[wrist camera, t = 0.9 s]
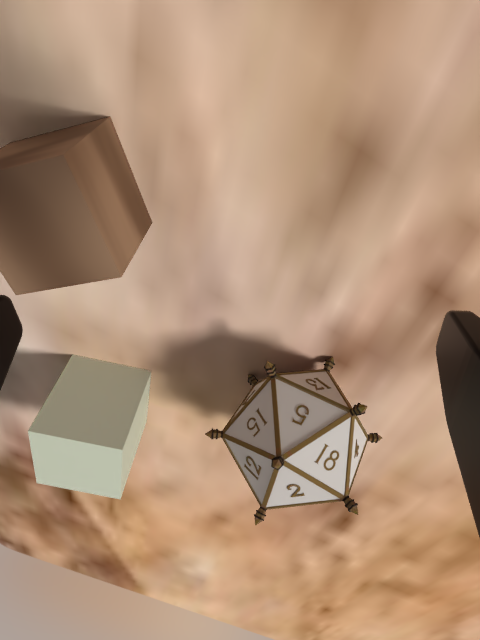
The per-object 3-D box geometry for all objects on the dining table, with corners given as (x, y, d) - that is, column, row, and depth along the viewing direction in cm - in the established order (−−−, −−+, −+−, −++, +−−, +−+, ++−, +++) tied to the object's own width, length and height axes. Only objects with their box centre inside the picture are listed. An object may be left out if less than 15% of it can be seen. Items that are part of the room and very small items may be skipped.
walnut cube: (110, 116, 19) (63, 154, 16) (152, 221, 22) (121, 277, 18) (11, 142, 21) (-57, 184, 17) (63, 239, 23) (16, 295, 20)
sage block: (151, 370, 29) (122, 450, 24) (146, 420, 32) (120, 499, 27) (72, 353, 28) (28, 431, 24) (75, 405, 32) (36, 482, 27)
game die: (327, 339, 30) (446, 456, 24) (248, 429, 32) (340, 560, 26) (248, 299, 24) (385, 447, 17) (154, 416, 26) (248, 587, 19)
